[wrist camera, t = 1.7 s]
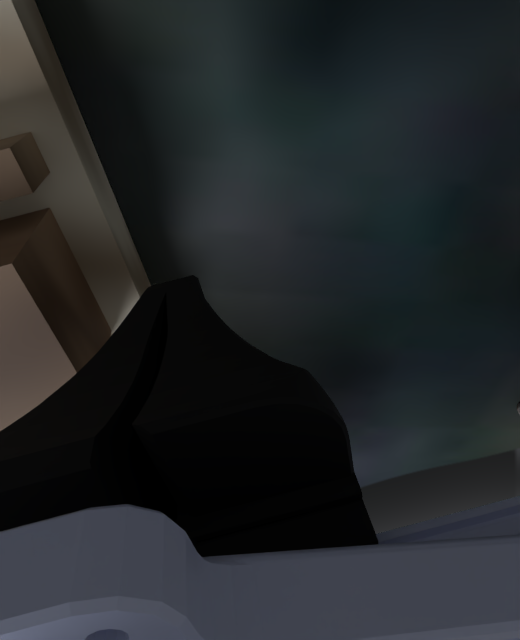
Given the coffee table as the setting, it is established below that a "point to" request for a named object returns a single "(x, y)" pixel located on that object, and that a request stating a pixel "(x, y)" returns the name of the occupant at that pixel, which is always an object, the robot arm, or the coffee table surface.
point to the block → (42, 314)
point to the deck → (60, 163)
